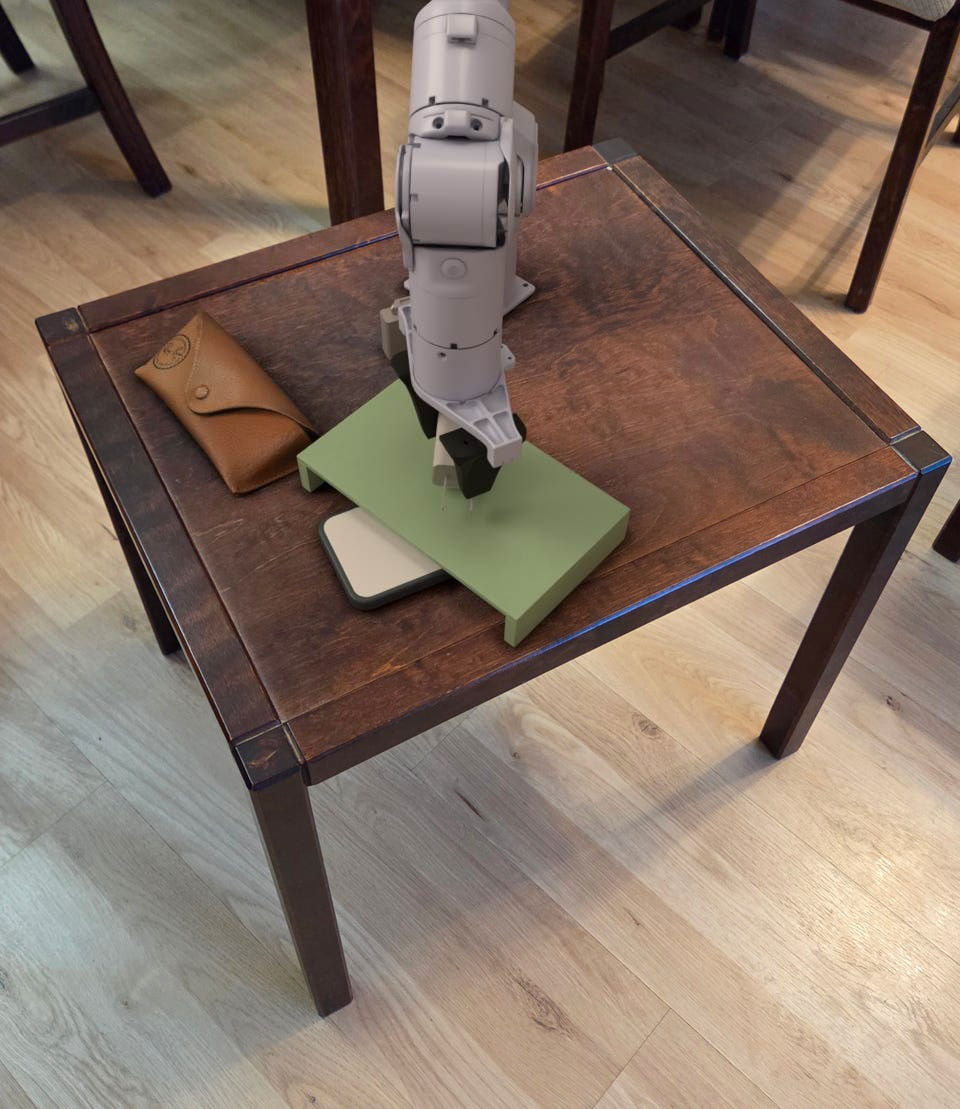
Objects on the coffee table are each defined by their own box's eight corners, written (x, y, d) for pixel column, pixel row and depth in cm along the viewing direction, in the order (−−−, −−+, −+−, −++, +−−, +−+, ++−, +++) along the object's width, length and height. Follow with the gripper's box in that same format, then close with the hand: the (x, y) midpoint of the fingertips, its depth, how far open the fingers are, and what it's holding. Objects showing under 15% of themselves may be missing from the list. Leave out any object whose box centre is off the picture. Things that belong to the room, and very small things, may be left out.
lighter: (389, 361, 91) (383, 288, 85) (382, 348, 92) (376, 275, 86) (464, 339, 93) (464, 266, 87) (456, 326, 94) (456, 253, 88)
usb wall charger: (489, 438, 79) (494, 414, 76) (482, 523, 77) (487, 503, 73) (436, 432, 79) (438, 408, 76) (427, 518, 77) (429, 497, 73)
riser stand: (302, 486, 83) (296, 455, 80) (415, 398, 89) (414, 366, 86) (514, 648, 75) (516, 620, 72) (624, 539, 81) (631, 509, 78)
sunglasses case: (124, 370, 89) (144, 301, 86) (196, 369, 95) (217, 304, 91) (236, 501, 81) (262, 430, 78) (307, 492, 87) (335, 426, 83)
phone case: (357, 620, 76) (553, 541, 80) (355, 608, 75) (554, 529, 79) (314, 532, 81) (501, 461, 85) (311, 519, 79) (501, 448, 83)
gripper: (570, 372, 63) (554, 512, 74) (462, 234, 71) (462, 380, 82) (465, 409, 61) (464, 548, 72) (365, 263, 69) (378, 409, 80)
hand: (457, 461), depth 77 cm, fingers closed on usb wall charger, 6 cm apart
